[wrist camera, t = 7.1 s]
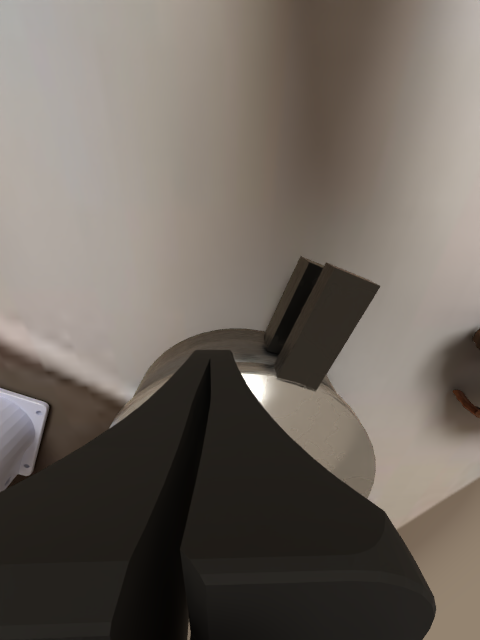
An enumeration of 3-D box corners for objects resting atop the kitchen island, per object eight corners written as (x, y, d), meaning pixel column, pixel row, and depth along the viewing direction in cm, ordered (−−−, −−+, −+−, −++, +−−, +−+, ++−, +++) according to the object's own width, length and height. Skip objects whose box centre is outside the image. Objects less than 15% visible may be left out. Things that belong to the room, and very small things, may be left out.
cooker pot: (283, 497, 28) (293, 554, 23) (118, 459, 25) (93, 516, 20) (416, 301, 19) (474, 330, 15) (189, 209, 16) (172, 209, 12)
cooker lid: (295, 561, 23) (303, 605, 21) (84, 521, 20) (62, 567, 18) (490, 329, 14) (547, 356, 12) (165, 196, 11) (146, 193, 9)
